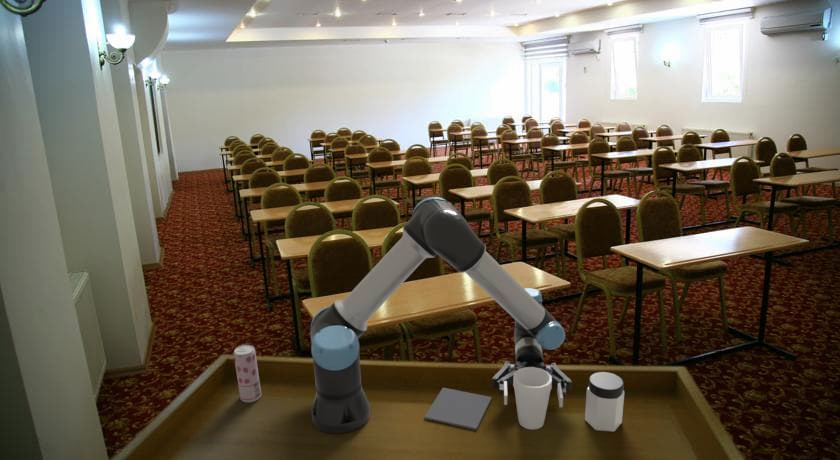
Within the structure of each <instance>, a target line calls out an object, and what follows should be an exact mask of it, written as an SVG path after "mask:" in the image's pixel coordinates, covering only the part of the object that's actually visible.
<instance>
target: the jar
mask: <svg viewBox="0 0 840 460" xmlns="http://www.w3.org/2000/svg"><path fill="white" fill-rule="evenodd" d="M585 397H586V398H585V399H586V400H585V411H584V412H585V414H584V415H585V416H584V420H585V422H587V423H588V424H589V426H591V428H593V429H594V431H601V432H616V430H617V429H618V428H619V427H620V425H621V424H622V422H623V414H624V413H623V412H624V402H625V390H624V380H623V378H622V377H620V376H619V375H617V374H615V373H612V372H608V371H598V372H594V373H592V374H591V375H590V376H589V378H588V387H587V388H586V396H585Z"/></svg>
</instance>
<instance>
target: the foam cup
mask: <svg viewBox="0 0 840 460" xmlns="http://www.w3.org/2000/svg"><path fill="white" fill-rule="evenodd" d="M548 372H549V371H548ZM548 372H547V371H545V370H543V369H541V368H536V367H524V368H521V369H518V370H517V371H516V372H515V373H514V377H513V383H512V387H513V388H514V395H515V403H516V404H515V405H516V413H517V419H518V423H519V425H520V426H521V427H523V428H525V429H527V430H538V429H541V428H543V426H544V425H545V424H544V423H545V419H546V416H547V415H546V414H547V410H548V405H549V398H550V394H551V390H552V387H553V386H552V376H551V375H550V374H549V373H548Z"/></svg>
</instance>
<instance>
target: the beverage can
mask: <svg viewBox="0 0 840 460" xmlns="http://www.w3.org/2000/svg"><path fill="white" fill-rule="evenodd" d="M233 358H234V365H235V371H236V372H235V373H236V379H237V385H238V392H239V398H240V399H239V400H240V401H242V402H243V403H254V402H256V401H258V400H260V398H261V397H262V389H261V382H260V376H259V368H258V362H257V353H256V349H255V346H253V345H251V344H242V345H239V346H237V347H236V348H235V349H234V350H233Z"/></svg>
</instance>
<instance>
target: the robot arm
mask: <svg viewBox="0 0 840 460" xmlns="http://www.w3.org/2000/svg"><path fill="white" fill-rule="evenodd" d="M464 217H465V216H463V215H462V214H461V213H460V211H458V209H457V208H456V207H455V206H454V205H453V203H450V202H449V201H448V200H447V199H445V198H442V197H440V196H439V197H438V196H432V197H430V196H429V197H426V198H424V199H422V200H420V201H419V202H418V203H417V204H416V206H415V207H414V209H413V211H412V215H411V218H410V219H409V221H407V223H406V224H405V225H404V226H403V227H402V237H401V238H400V239H399V240H398V241H397V242H396V243H395V244H394V245H393V246H392V247H391V249H389V251H388V252H387V253H386V254H385V255H384V256H383V257H382V258H381V259H380V260H379V261H378V263H376V264H375V265H374V267H372V269H371V270H370V271H369V272H368V273H367V274H366V275H365V276H364V278H363V279H362V280H361V281H360V282H359V283H358V284H357V285H356V286H355V287H354V288H353V289H352V291H351V292H350V293H349V294H348V295H347V296H346V297H345V298H344V299H337V300H335V301H334V302H333V303H332V304H331V305H330V306H326V307H323V308H322V309H319V311H317V312H316V314H315V315H314V317H312V321H311V323H310V329H309V334H310V337H309V338H310V341H311V342H310V343H311V347H310V349H311V350H310V351H311V355H312V361H313V372H314V381H315V382H314V383H315V392H316V393H315V397H314V400H313V405H312V407H311V420H312V423H313V425H314V426H315V428H317V429H318V430H319V431H322V432H324V433H329V434H334V435H335V434H345V433H350V432H354V431H356V430H358V429H360V428H361V427H363V426H364V425H365V424H366V423H367V422H368V420H369V419H370V417H371V405H370V401H369V400H368V398H367V395H366V393H365V391H364V389H363V387H362V375H361V362H360V341H359V338H361V336H363V334H364V333H365V332H366V331H367V329H368V320H370V318H371V317H372V316H373V315H374V314H376V312H377V311H378V310H379V309H380V308H381V307H382V306H383V304H385V302H387V300H388V299H390V298H391V296H392V295H393V294H394V293H395V292H396V291H397V289H399V288H400V286H401V285H403V283H404V282H405V281H406V280H407V279H408V278H409V277H410V276H411V275H412V273H414V271H415V270H416V269H417V268H418V267H419V266H420V265H421V264H422V263H423V262H424V261H425V260H426V259H429V258H430V259H431V258H436V256H437V255H438V256H439V257H440V258H442V259H443V260H444V261H446V263H448V264H449V265H450V266H451V267H453V268H454V269H455V270H456V271H457V272H458V273H461V274H462V273H465V274H466V275H467V276H468V277H469V278H470V279H471V280H472V281H473V282H474V283H476V284H477V285H478V286H479V287H480V288H481V289H482V290H483V291H484V292H485V293H486V294H487V295H488V296H489V297H490V298H492V299H493V300H494V301H495V302H496V303H497V304H498V305H499V306H500V307H501V308H502V309H504V311H506V312H507V313H508V314H509V316H511V317H512V318H513V319H514V331H513V340H514V350H515V351H514V352H515V364H512V363H510V362H509V361H507V360H506V361H505V362H504V365H503V366H502V367H501V368H500V370H499V371H498V372H497V373H495V374H494V376H493V377H492V387H493V388H499V389H498V392H499V395H503V405H504V406H507V405H508V387H509V386H510V385H513V377H514V373H515V372H516V371H517V370H518V369H521V368H524V367H536V368H541V369H543V370H545V371H547V372H548V373H549V374H550V375H551V376H552V387H553V388H555V389H556V392H557V393H556V394H557V398H558V405H559V406H558V407H559V408H563V407H564V398H566V396H567V391H572V383H573V382H572V380H571V378H569V377H568V376H567V375H566V374H565V373H564V372H562V371H561V370H560V369H559V368H558V367H557V363H555V362H552V363H551V365H546V364H545V363H544V356H543V355H544V354H543V350H542V348H543V349H545V350H548V351H549V350H551V351H552V350H555V349H558V348H559V347H560V346H561V345H563V343H564V342H565V339H566V332H565V329H564V328H563V326H562V325H561V323H559V322H558V321H557V320H556V319H555V317H553V316H552V314H551V313H550V312H549V311H548V310H547V308H546V307H544V305H543V304H542V303H543V296H542V292H541V291H540V290H539V289H537V288H531V287H526V288H524V287H523V286H522V285H521V284H520V283H519V282H518V281H517V280H516V279H515V278H513V276H511V274H510V273H509V272H508V271H507V270H506V269H505V268H504V267H502V265H500V264H499V263H498V261H496V259H494V258H493V256H492V255H490V253H488V252H487V251H486V250H487V246H486V244H485V243H484V242H483V241H482V240H481V239H480V238H479V237H478V236H477V235H476V233H475V231H474V230H473V229H472V227H471V226H470V224H469V223H468V222H467V220H466V219H465V218H464Z"/></svg>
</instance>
